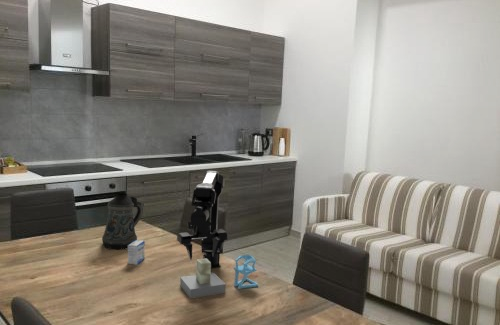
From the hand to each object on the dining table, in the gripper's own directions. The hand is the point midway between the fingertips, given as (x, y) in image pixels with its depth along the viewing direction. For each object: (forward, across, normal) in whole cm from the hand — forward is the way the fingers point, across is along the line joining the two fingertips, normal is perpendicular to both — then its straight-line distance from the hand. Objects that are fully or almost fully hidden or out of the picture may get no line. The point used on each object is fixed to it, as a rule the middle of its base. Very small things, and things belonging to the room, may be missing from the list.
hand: (202, 257), depth 169 cm
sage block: (+9, 0, +1) cm, 9 cm away
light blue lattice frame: (+13, -17, +3) cm, 22 cm away
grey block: (+13, 0, +1) cm, 13 cm away
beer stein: (+13, +19, -62) cm, 66 cm away
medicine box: (+13, +18, -36) cm, 42 cm away
